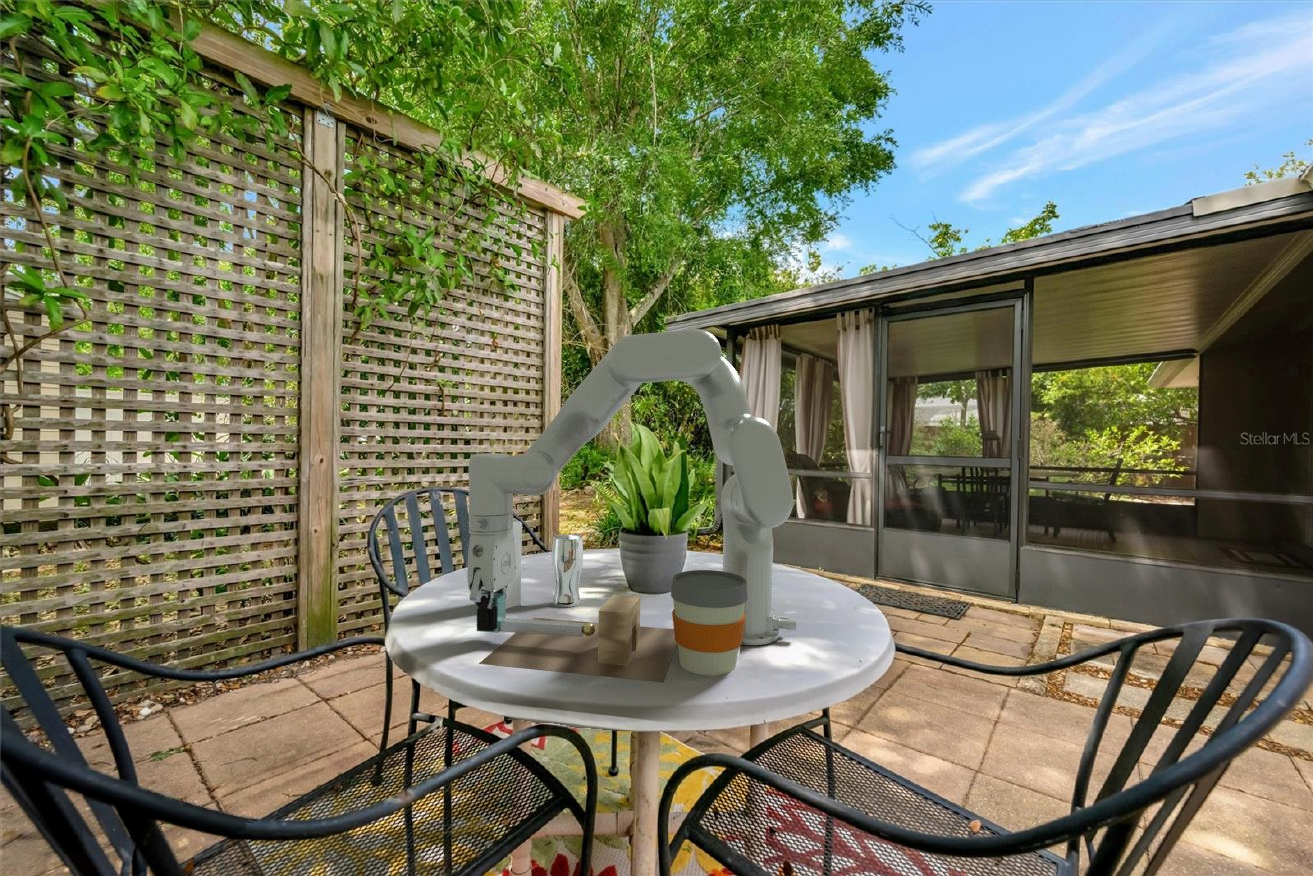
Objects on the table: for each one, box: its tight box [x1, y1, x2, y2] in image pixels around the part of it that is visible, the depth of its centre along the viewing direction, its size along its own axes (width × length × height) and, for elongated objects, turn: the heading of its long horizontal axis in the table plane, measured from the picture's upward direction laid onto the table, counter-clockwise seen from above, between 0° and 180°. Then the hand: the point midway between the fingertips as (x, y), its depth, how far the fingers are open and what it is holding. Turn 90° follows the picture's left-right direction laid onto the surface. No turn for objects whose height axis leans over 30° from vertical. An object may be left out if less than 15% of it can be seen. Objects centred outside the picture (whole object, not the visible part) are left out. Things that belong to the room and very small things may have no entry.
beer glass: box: [551, 533, 584, 608], centre depth 124 cm, size 7×7×15 cm
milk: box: [482, 517, 523, 610], centre depth 118 cm, size 6×6×22 cm
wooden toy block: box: [598, 594, 641, 666], centre depth 93 cm, size 5×9×8 cm, turn 170°
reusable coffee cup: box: [670, 569, 748, 676], centre depth 90 cm, size 13×13×15 cm
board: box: [478, 617, 678, 683], centre depth 97 cm, size 30×22×1 cm
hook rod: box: [476, 593, 595, 637], centre depth 96 cm, size 21×3×6 cm, turn 80°
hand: (491, 625), depth 98 cm, fingers closed on hook rod, 3 cm apart
